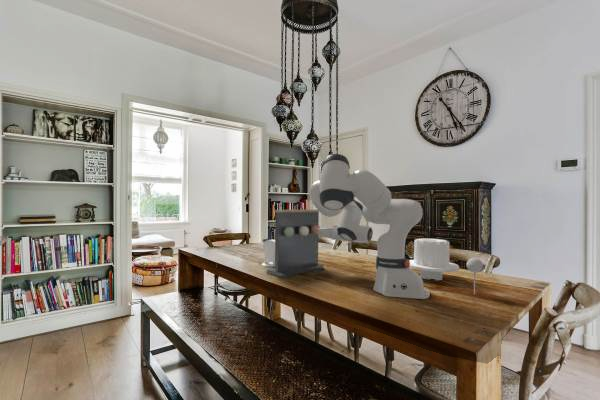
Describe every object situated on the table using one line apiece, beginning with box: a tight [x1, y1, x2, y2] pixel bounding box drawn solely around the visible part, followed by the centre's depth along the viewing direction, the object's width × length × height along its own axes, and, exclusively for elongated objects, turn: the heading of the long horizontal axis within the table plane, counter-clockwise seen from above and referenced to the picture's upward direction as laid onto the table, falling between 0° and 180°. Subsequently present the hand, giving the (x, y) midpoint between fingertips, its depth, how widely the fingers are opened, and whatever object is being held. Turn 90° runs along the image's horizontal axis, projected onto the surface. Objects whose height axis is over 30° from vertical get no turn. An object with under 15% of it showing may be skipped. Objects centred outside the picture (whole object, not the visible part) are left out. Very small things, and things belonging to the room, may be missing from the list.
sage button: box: [283, 227, 294, 237], centre depth 157 cm, size 3×5×5 cm, turn 137°
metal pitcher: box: [261, 238, 275, 268], centre depth 182 cm, size 12×11×15 cm
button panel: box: [266, 209, 324, 278], centre depth 167 cm, size 12×32×33 cm, turn 137°
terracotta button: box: [311, 225, 321, 234], centre depth 171 cm, size 3×5×5 cm, turn 137°
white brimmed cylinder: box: [409, 238, 460, 281], centre depth 155 cm, size 25×25×19 cm
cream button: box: [299, 226, 309, 236], centre depth 163 cm, size 3×5×5 cm, turn 137°
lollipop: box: [466, 257, 484, 295], centre depth 126 cm, size 6×6×15 cm
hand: (322, 230), depth 167 cm, fingers closed
